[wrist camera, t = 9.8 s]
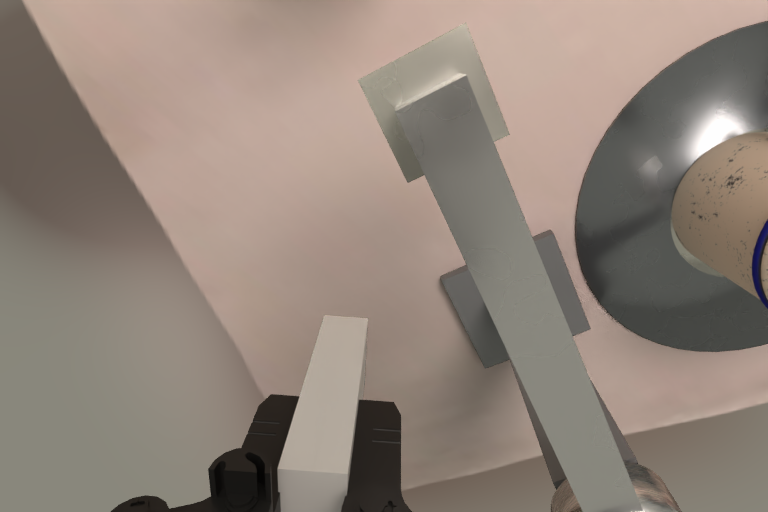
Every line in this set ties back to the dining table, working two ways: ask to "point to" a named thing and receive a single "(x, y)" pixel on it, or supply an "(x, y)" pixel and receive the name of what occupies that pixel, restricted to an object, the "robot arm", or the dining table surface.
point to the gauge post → (495, 351)
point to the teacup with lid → (728, 211)
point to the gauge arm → (505, 261)
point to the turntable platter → (672, 198)
